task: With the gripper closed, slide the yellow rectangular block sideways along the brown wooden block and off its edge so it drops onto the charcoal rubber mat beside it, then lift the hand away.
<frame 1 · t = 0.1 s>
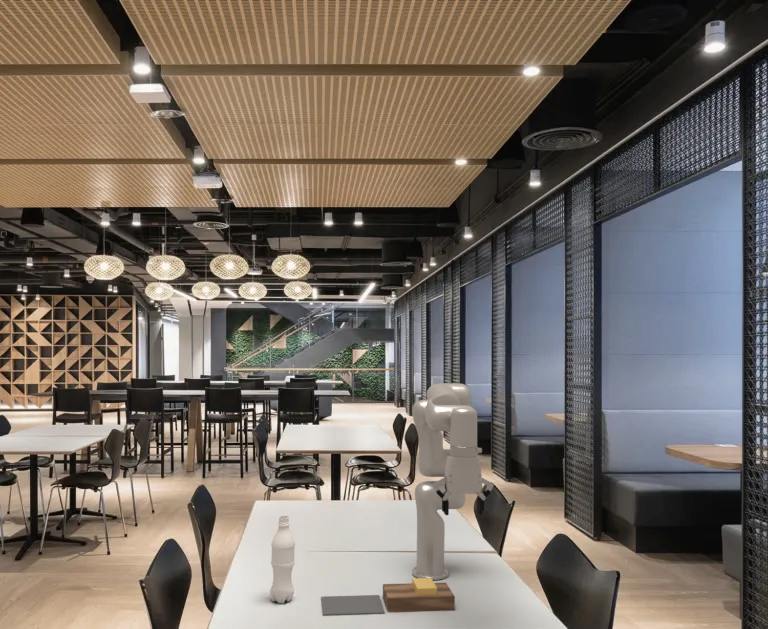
hand: (462, 513, 185), 31 cm above the table, fingers open, 9 cm apart
yellow rectangular block: (424, 589, 201), point 4 cm above the table, touching brown wooden block
water bottle: (281, 600, 201), on the table
brown wooden block: (417, 603, 201), on the table
mat: (352, 605, 198), on the table
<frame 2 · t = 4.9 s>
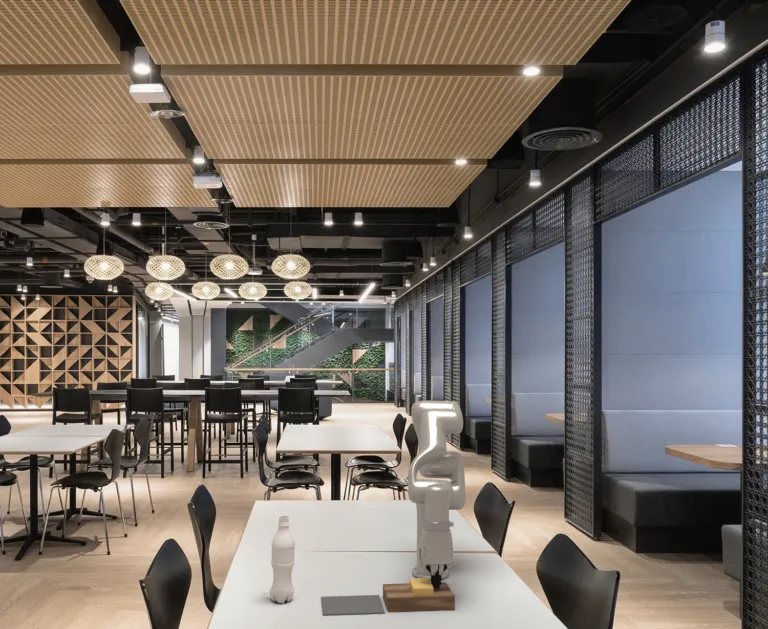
hand: (436, 587, 201), 5 cm above the table, fingers closed
yellow rectangular block: (421, 589, 201), point 4 cm above the table, touching gripper
everything else where it was.
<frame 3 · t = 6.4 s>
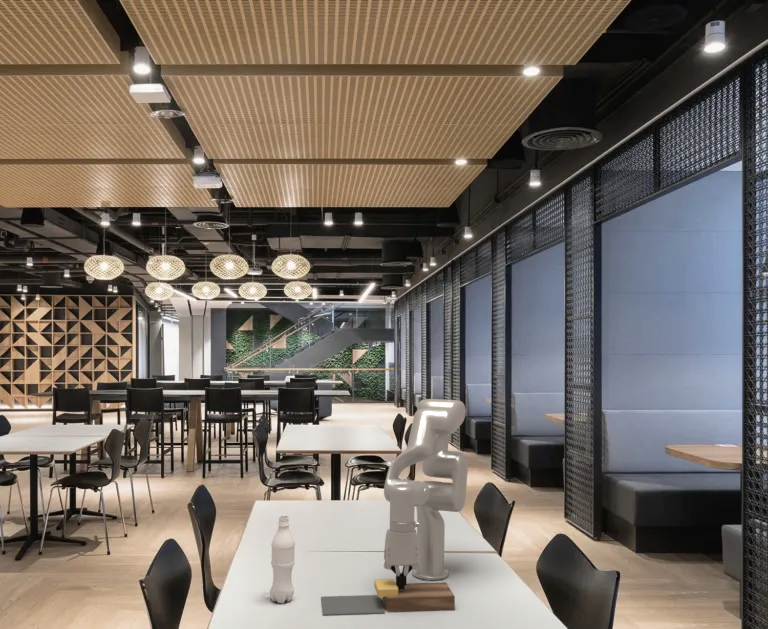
hand: (400, 587, 200), 5 cm above the table, fingers closed
yellow rectangular block: (385, 591, 200), point 4 cm above the table, touching gripper
everything else where it was.
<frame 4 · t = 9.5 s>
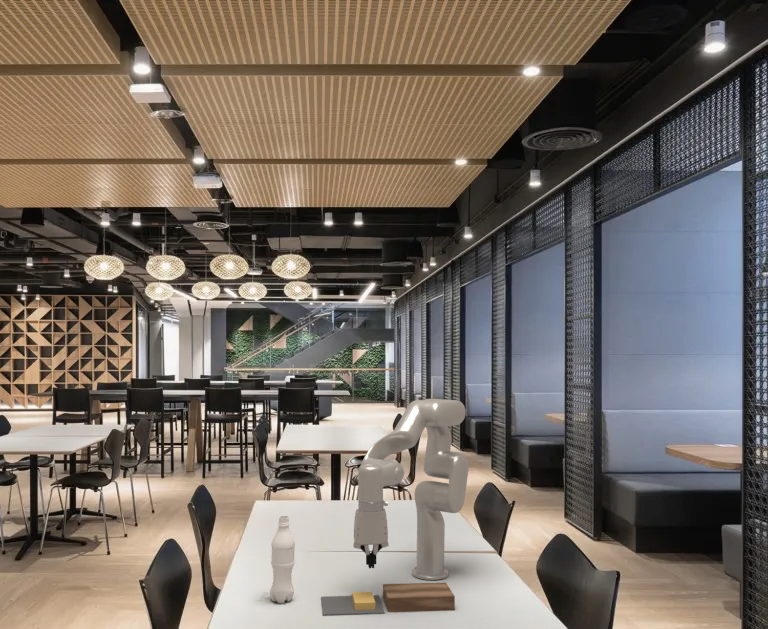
hand: (371, 566, 200), 11 cm above the table, fingers closed
yellow rectangular block: (363, 597, 199), point 2 cm above the table, tilted 180°, touching mat
everything else where it was.
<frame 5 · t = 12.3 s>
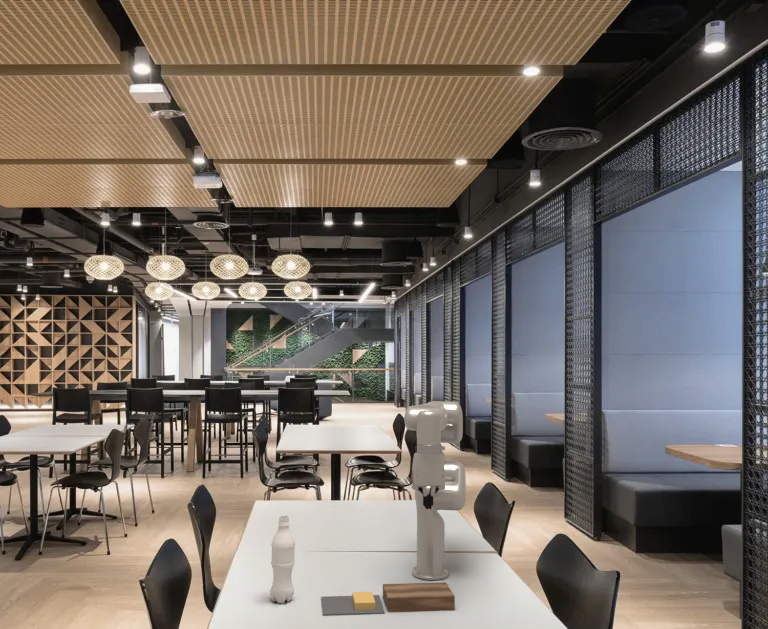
hand: (428, 508, 209), 27 cm above the table, fingers closed
nothing on the table moved.
at the end: yellow rectangular block inside the target area (3.4 cm from its centre), point 2.4 cm above the table; yellow rectangular block point 2.4 cm above the table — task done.
